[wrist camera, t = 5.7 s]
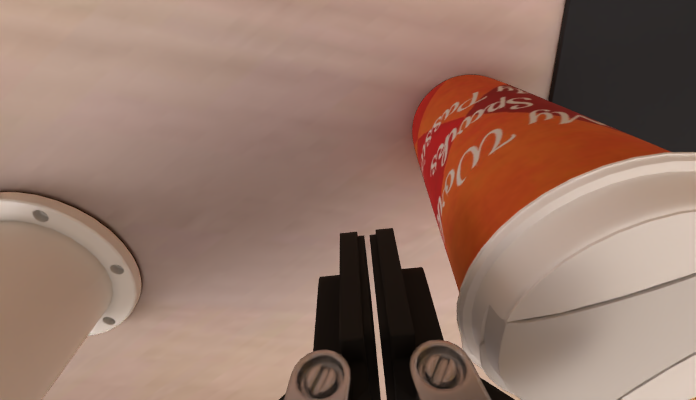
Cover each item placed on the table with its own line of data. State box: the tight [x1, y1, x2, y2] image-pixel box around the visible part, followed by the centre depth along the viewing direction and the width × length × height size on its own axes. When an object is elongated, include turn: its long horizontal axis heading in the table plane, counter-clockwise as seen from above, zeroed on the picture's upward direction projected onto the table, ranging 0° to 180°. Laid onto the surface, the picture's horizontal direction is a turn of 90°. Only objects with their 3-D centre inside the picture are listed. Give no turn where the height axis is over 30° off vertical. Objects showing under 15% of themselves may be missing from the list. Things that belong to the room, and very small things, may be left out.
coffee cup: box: [412, 75, 696, 400], centre depth 15 cm, size 8×8×15 cm
